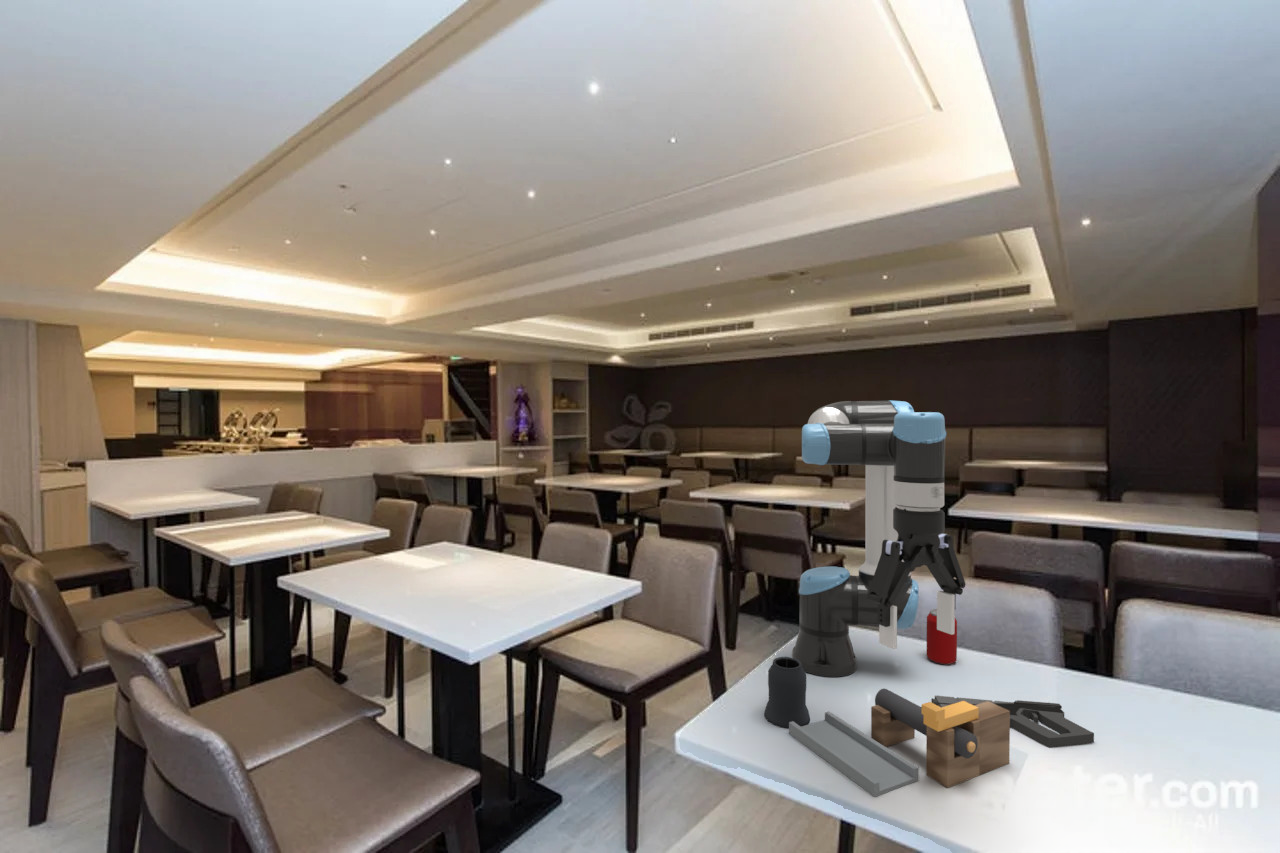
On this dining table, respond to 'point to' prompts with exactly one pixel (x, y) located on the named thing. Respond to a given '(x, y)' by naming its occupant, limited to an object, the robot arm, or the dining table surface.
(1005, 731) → the notched wooden block
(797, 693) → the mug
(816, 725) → the grey open channel
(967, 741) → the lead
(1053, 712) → the pistol
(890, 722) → the rest
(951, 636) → the beverage can
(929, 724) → the notched orange block
